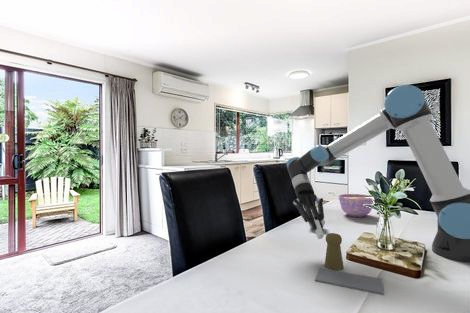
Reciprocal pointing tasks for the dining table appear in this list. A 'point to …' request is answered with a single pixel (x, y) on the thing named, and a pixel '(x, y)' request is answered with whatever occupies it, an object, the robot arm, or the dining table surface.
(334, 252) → the olive waisted cylinder
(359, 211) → the purple ceramic bowl
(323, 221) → the die
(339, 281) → the mat
